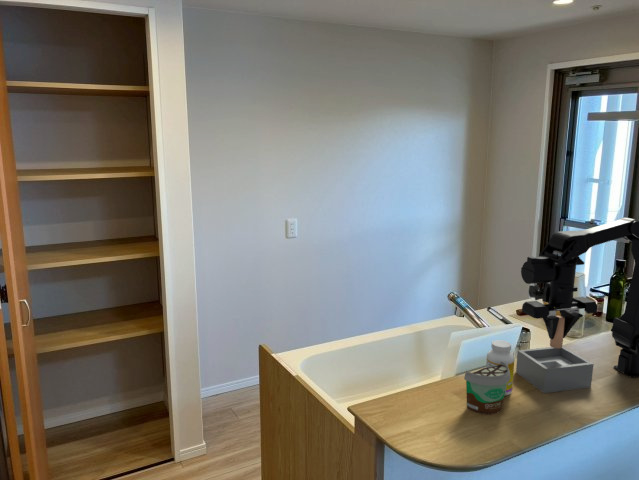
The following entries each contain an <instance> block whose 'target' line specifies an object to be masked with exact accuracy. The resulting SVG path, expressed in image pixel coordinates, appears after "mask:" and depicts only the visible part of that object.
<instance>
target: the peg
mask: <svg viewBox="0 0 639 480" xmlns="http://www.w3.org/2000/svg"><path fill="white" fill-rule="evenodd" d="M556 316H557V317H559V322H558V326H557V329H556V333H555V336H554V339H550V338H549V339H550V340H549V347H553V348H562V346H563V342H564V338H563V334H564V324H565V318H564V317H562V316H561V315H556Z"/></svg>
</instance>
